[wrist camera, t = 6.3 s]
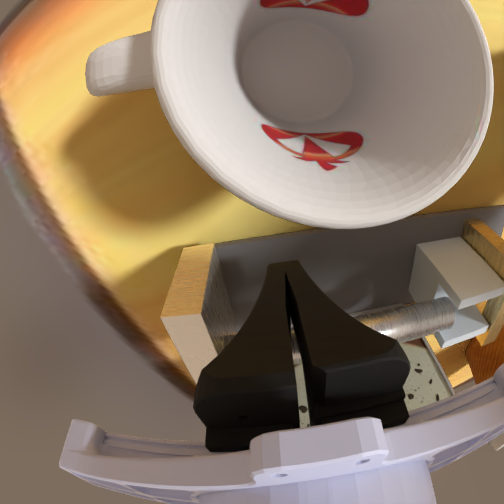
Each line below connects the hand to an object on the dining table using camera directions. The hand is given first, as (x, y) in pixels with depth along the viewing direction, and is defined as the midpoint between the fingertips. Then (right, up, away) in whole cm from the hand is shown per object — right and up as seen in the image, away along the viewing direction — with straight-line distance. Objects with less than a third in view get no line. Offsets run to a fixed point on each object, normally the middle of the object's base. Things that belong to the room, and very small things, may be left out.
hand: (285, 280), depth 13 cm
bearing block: (+10, +1, +3) cm, 11 cm away
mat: (+6, 0, +4) cm, 7 cm away
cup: (-1, +9, -2) cm, 10 cm away
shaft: (+2, 0, +3) cm, 3 cm away
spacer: (+13, -1, +1) cm, 13 cm away
